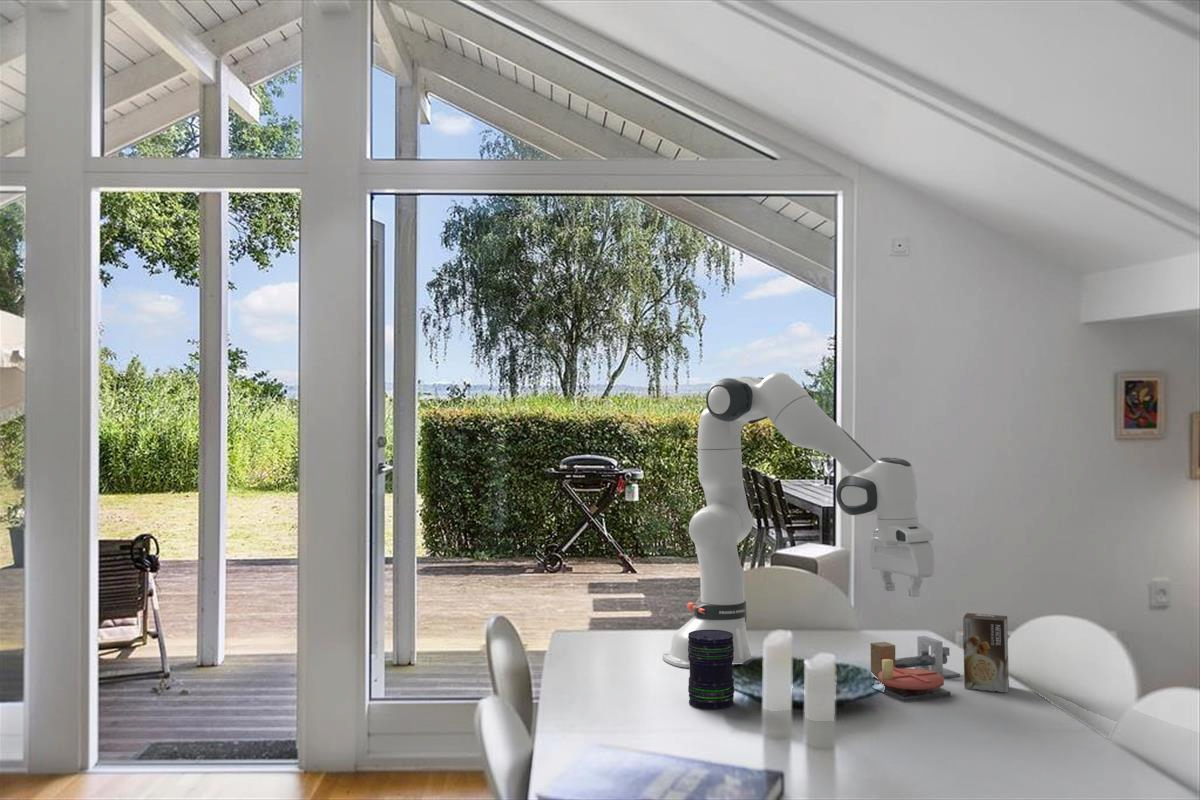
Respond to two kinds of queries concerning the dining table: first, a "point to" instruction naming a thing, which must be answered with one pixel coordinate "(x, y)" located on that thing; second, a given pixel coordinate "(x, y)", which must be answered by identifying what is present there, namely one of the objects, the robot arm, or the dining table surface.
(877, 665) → the hook
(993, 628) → the coffee box
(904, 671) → the handwheel
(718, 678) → the storage jar
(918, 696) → the wheel base
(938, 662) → the eye bracket
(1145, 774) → the dining table surface
